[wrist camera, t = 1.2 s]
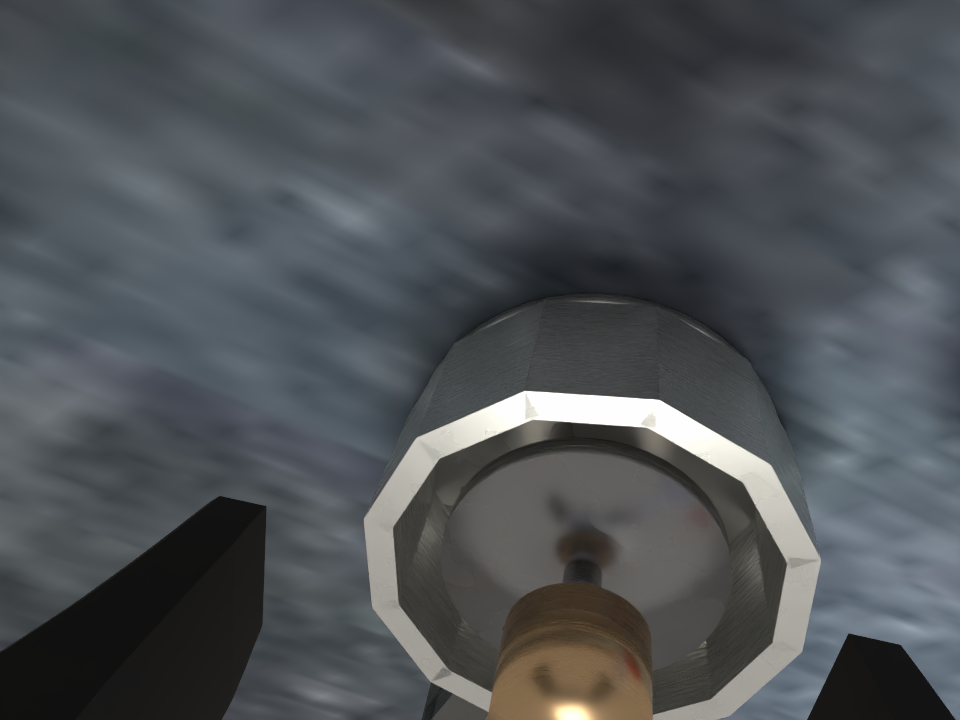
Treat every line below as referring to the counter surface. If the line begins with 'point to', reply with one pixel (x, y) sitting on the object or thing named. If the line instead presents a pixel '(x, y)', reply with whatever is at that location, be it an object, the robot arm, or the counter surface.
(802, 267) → the counter surface
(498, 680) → the plunger
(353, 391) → the counter surface
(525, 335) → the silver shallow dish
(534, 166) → the counter surface
